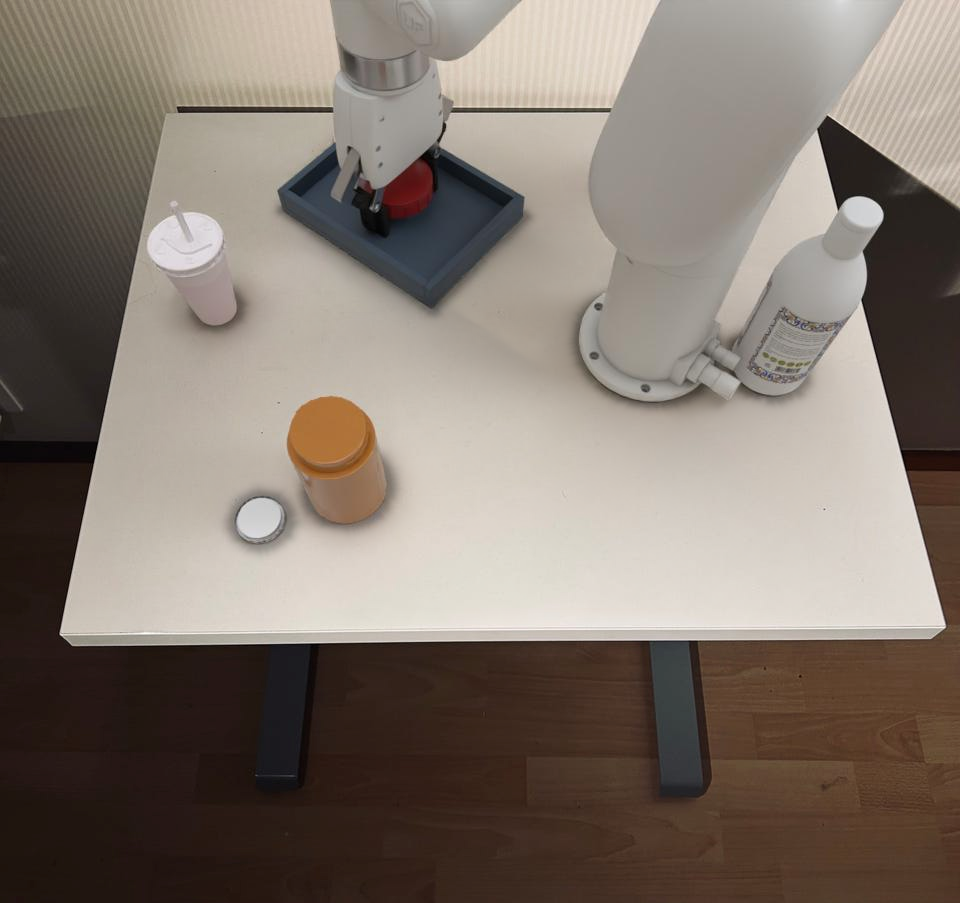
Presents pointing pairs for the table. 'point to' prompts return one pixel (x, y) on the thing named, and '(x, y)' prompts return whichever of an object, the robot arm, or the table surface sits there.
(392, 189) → the lid
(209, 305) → the smoothie
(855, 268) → the bath foam
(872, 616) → the table surface
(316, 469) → the jar
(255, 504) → the white grey disc
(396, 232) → the tray
